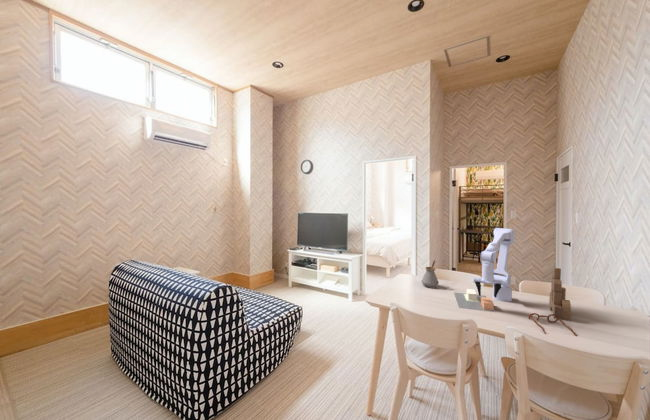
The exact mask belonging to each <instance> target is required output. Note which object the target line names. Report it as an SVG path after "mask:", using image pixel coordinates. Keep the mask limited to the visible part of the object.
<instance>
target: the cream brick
mask: <svg viewBox="0 0 650 420" xmlns="http://www.w3.org/2000/svg"><path fill="white" fill-rule="evenodd" d="M465 294H466V295H467V298H468V300H474V301H477V295H478V293H477V292H476V290H475V289H471V288H466V292H465Z"/></svg>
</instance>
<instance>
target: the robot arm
mask: <svg viewBox="0 0 650 420" xmlns="http://www.w3.org/2000/svg"><path fill="white" fill-rule="evenodd" d="M515 236H516V232H515V229H513V228H502V227H495V228H494V229H493V239H492V242H489V243H488V245H487V247H486V248H485V250H483V251H481V253H480V260H481V262H480V264H481V265H482V267H481V278H479V277H477V278H476V277H475V278H472V282H473V283H474V284H475V286H476V289H477V292H478V293H477V295H479V296H481V295H482V293H481V290H482V284H489V285H492V299H494V300H496V301H501V302H512V301H513V299H512V298H513V290H512V287H511V283H512V275H511V274H510V272H508V271H507V266H508V261H509V260H508V259H509V251H510V246H511V244H514V242H515V238H516V237H515ZM497 256H498V258H497ZM496 261H497V263H496ZM495 263H496V264H497V265H496V268H495Z"/></svg>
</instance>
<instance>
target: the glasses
mask: <svg viewBox="0 0 650 420" xmlns="http://www.w3.org/2000/svg"><path fill="white" fill-rule="evenodd" d="M533 315H536V316H537V318H536V320H535V319H534V317H532V316H533ZM553 316H556V318H555V320H553V321H552V320H550V317H553ZM540 318H546V320H547V322H549V323H556V322H557V321H559V322H560V323H562V325H563V326H565V327H566V328H567V329H569V330H570V331H571V333H572V334H573V336H575V337H577V334H576V333H575V332H574V330H573V328H571V327H570V326H569V325H567V324H566V323H565V322H564V320H563V319H560V318H558V316H557V315H555V314H553V313H552V314H548V315H543V314H541V315H540V314H538V313H536V312H533V313H530V314H529V315H528V319H529V320H532V321H533V322H534V323H535V325H537V326H539V327H540V328H541V330H542V332H543V333H544V335H546V334H547V333H546V331H545V329H544V327H543V326H542V325H541V324H539V323H538V322H537V321H539V319H540Z"/></svg>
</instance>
